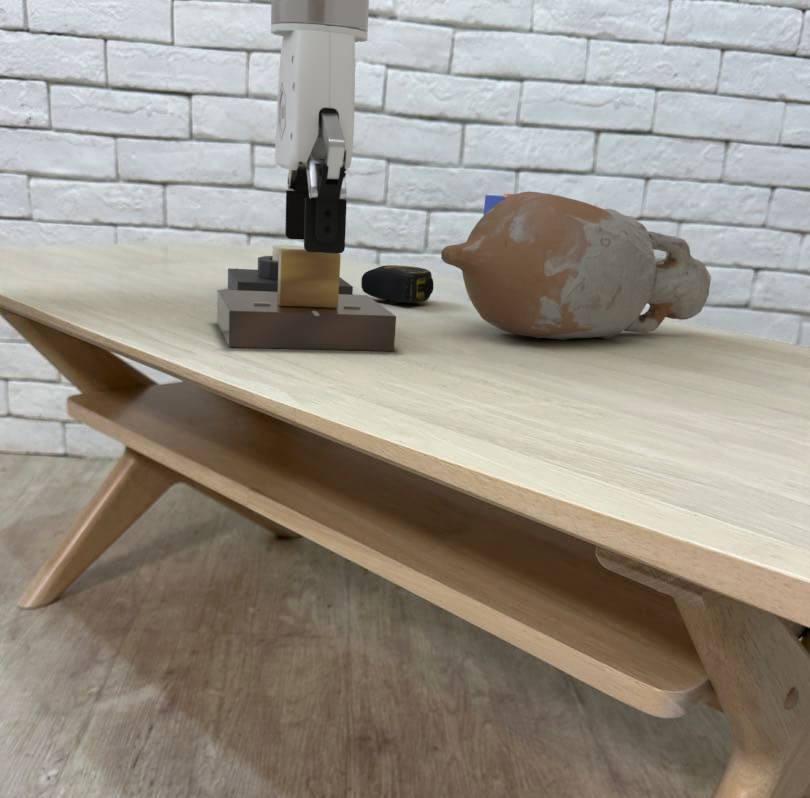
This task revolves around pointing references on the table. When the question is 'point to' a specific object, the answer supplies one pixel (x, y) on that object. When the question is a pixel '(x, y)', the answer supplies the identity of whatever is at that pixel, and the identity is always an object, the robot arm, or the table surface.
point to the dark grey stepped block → (266, 278)
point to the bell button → (277, 247)
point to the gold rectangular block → (308, 278)
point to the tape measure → (398, 283)
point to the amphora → (574, 270)
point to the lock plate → (304, 323)
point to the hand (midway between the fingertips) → (313, 245)
